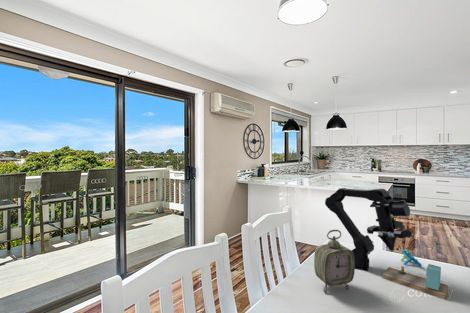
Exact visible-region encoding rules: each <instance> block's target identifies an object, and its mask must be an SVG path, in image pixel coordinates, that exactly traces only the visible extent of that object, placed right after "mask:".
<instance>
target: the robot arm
mask: <svg viewBox="0 0 470 313" xmlns="http://www.w3.org/2000/svg"><path fill="white" fill-rule="evenodd" d="M346 197H350V198H360V199H366V200H369V201H372V203H371V204H370V205H369V207H370V208H374V210H375V214H376V219H375V222H378V225H375V224H374V225H371V226H367V228H366V231H367V234H369V235H373V234H374V233H375V232H376V233H378V234H377V237H379V239H380V240H381V241H382V242H383V243H384V244H385V246H386V248H388V249H389V250H390V251H391V252H392V251H394V248H395V244H396V239H400V240H402V239H406V238H409V237H412V236H413V235H412V231H411V230H410V229H409V228H404V221H399V220H396V219H395V218H394V217H409V216H410V214H411V209H410V208H411V207H410V206H409V204H408V203H407V202H406V200H405V199H402V200H395V199H394V198H393V197H392V196H391V194H389V192H388V191H387V189H385V188H374V189H359V188H346V187H341V188H340V187H339V188H338V189H337V190H336V191H335V192H334V193H332V194H331V195H330V196H329V197H326V198H325V200H324V204H325V206H326V207H327V208H328V210H329V211H331V212H332V213H334V214H335V215H336V217H337V218H338V220H339V221H340V223H341V224H342V225H343V227H344V228H345V230H346V231H347V233H348V235H350V236H351V238H352V240H353V246H354V248H353V249H350V250H351V251H353V253H354V256H355V269H357V270H362V271H366V272H367V271H369V268H370V257H369V255H370V254H371V253H373V251H374V249H375V245H374V241H373V240H371V237H370V236H369V235H367V234H366V235H364V234H363V233H362V232H361V231H360V230H359V229H358V227H357V226H356V224H355V223H354V221H353V220H352V219H351V218H350V216H349V214H348V213H347V212H346V211H345V209H344V204H343V202H342V201H344V200H345V198H346Z"/></svg>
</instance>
